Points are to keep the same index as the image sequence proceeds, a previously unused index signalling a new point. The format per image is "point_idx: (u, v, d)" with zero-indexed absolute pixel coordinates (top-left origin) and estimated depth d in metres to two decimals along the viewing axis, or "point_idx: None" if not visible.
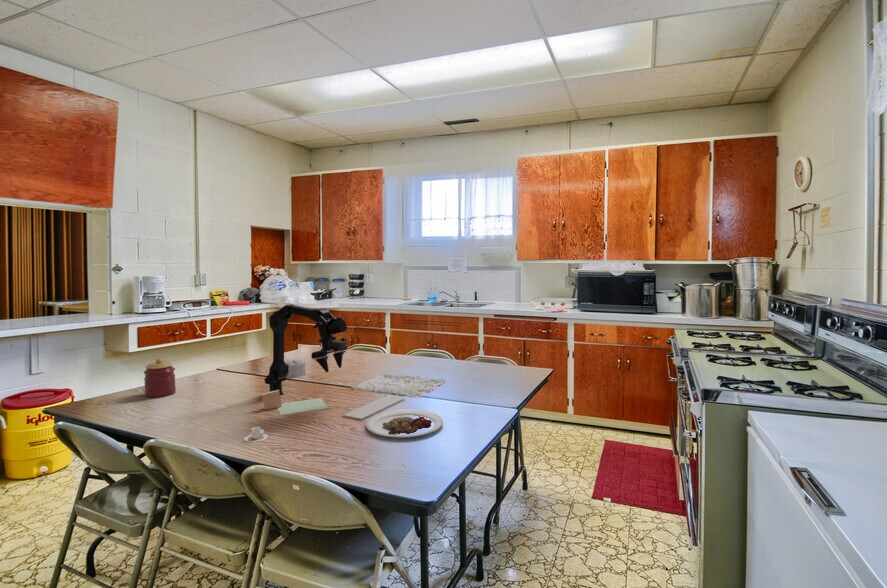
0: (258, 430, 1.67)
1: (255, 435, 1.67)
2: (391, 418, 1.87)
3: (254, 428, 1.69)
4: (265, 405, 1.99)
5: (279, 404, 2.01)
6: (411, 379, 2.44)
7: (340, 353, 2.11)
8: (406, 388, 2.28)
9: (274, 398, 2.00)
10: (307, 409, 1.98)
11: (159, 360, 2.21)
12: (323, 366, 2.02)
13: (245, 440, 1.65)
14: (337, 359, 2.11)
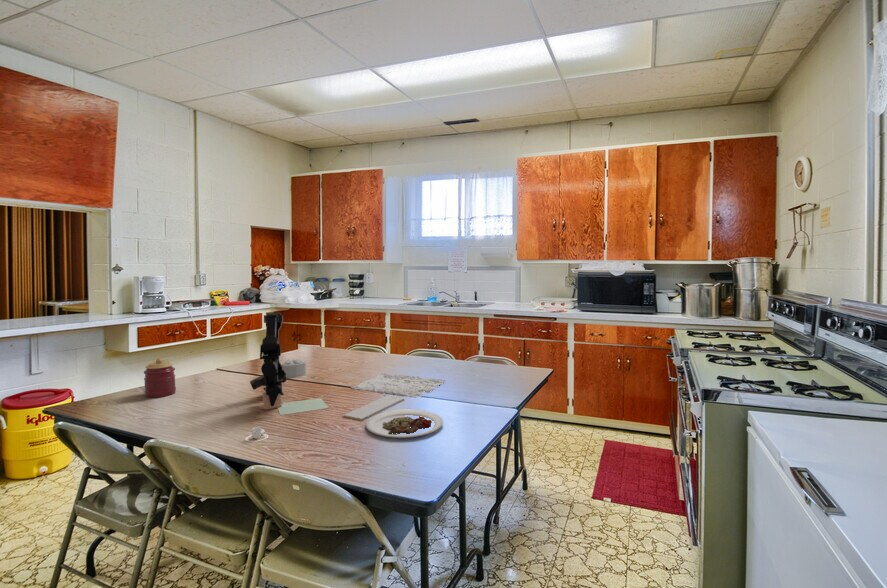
0: (259, 430, 1.67)
1: (256, 435, 1.67)
2: (391, 418, 1.87)
3: (255, 428, 1.69)
4: (265, 405, 1.99)
5: (279, 404, 2.01)
6: (411, 379, 2.44)
7: None
8: (406, 388, 2.28)
9: None
10: (307, 409, 1.98)
11: (159, 360, 2.21)
12: None
13: (246, 440, 1.65)
14: None
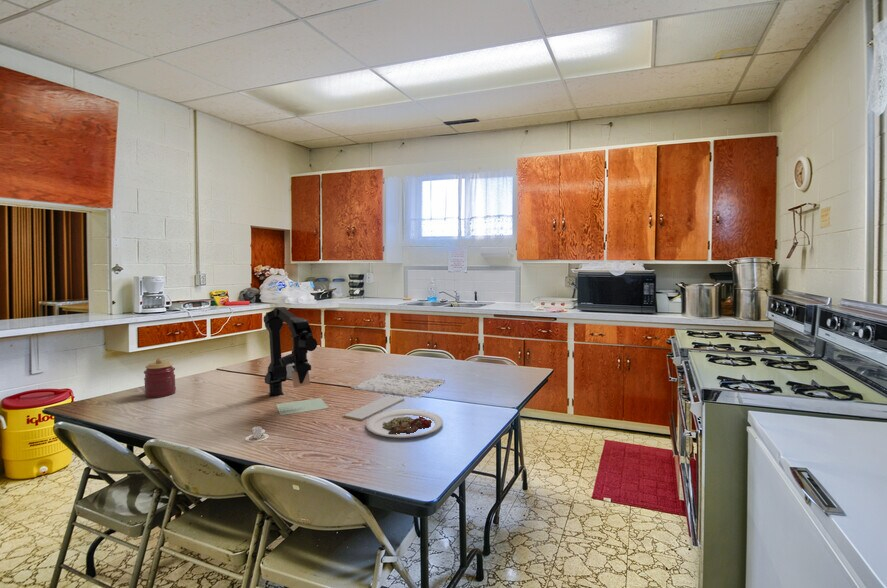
0: (259, 430, 1.67)
1: (256, 435, 1.67)
2: (391, 418, 1.87)
3: (255, 428, 1.69)
4: (294, 382, 2.01)
5: (308, 382, 2.03)
6: (411, 379, 2.44)
7: None
8: (406, 388, 2.28)
9: None
10: (307, 409, 1.98)
11: (159, 360, 2.21)
12: None
13: (246, 440, 1.65)
14: None
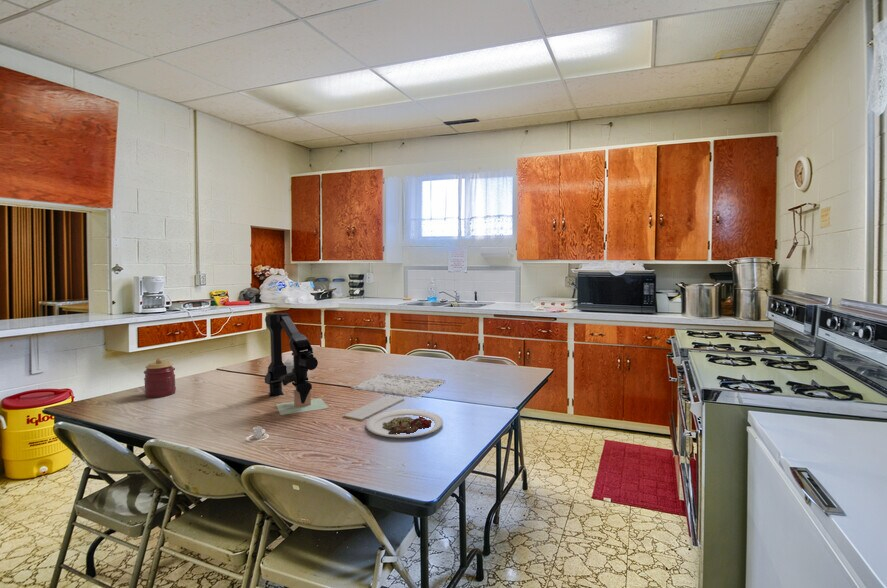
0: (260, 430, 1.67)
1: (257, 435, 1.67)
2: (391, 418, 1.87)
3: (256, 428, 1.69)
4: (295, 402, 2.01)
5: (308, 402, 2.04)
6: (411, 379, 2.44)
7: None
8: (406, 388, 2.28)
9: None
10: (307, 409, 1.98)
11: (159, 360, 2.21)
12: None
13: (247, 440, 1.65)
14: None
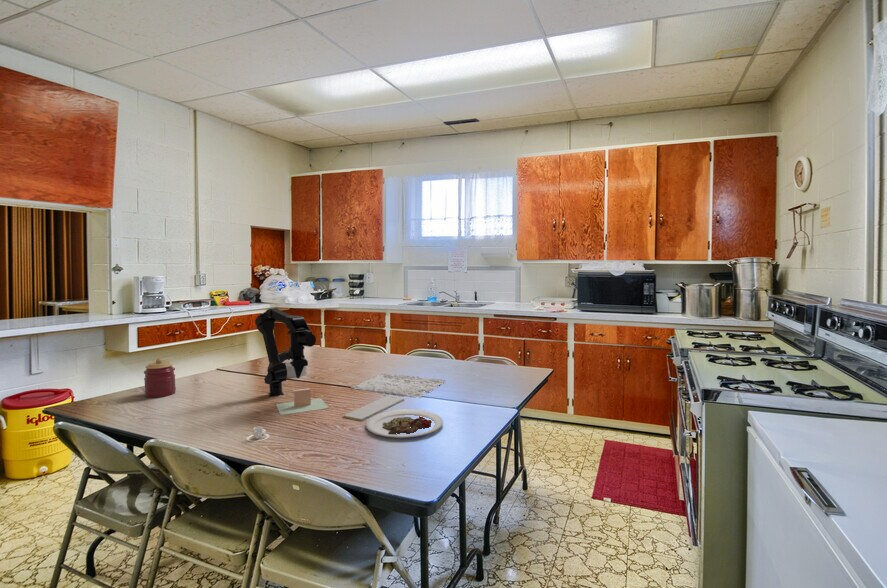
0: (260, 430, 1.67)
1: (257, 435, 1.67)
2: (391, 418, 1.87)
3: (256, 428, 1.69)
4: (295, 402, 2.01)
5: (308, 402, 2.04)
6: (411, 379, 2.44)
7: None
8: (406, 388, 2.28)
9: (304, 396, 2.03)
10: (307, 409, 1.98)
11: (159, 360, 2.21)
12: None
13: (247, 440, 1.66)
14: None
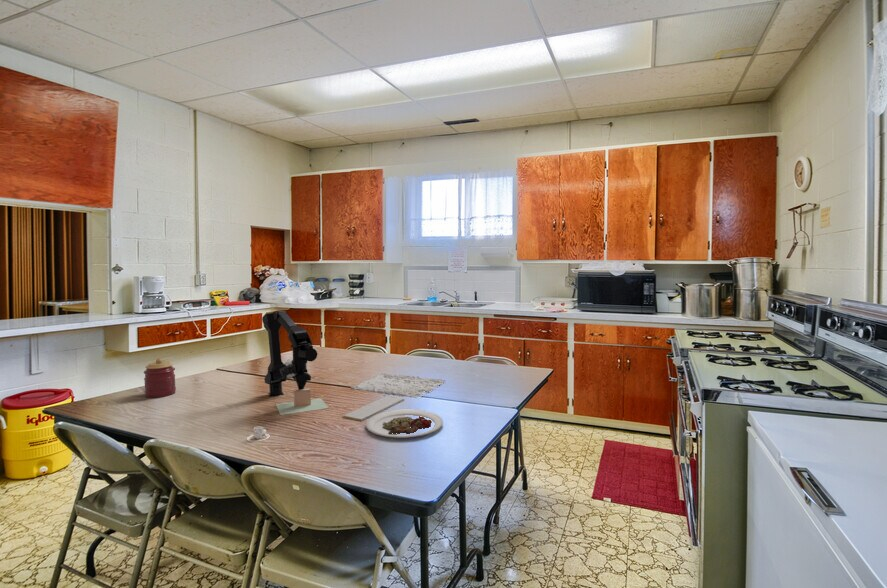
0: (260, 430, 1.67)
1: (257, 435, 1.67)
2: (391, 418, 1.87)
3: (256, 428, 1.69)
4: (295, 402, 2.01)
5: (308, 402, 2.04)
6: (411, 379, 2.44)
7: None
8: (406, 388, 2.28)
9: (305, 396, 2.03)
10: (307, 409, 1.98)
11: (159, 360, 2.21)
12: None
13: (247, 440, 1.66)
14: None
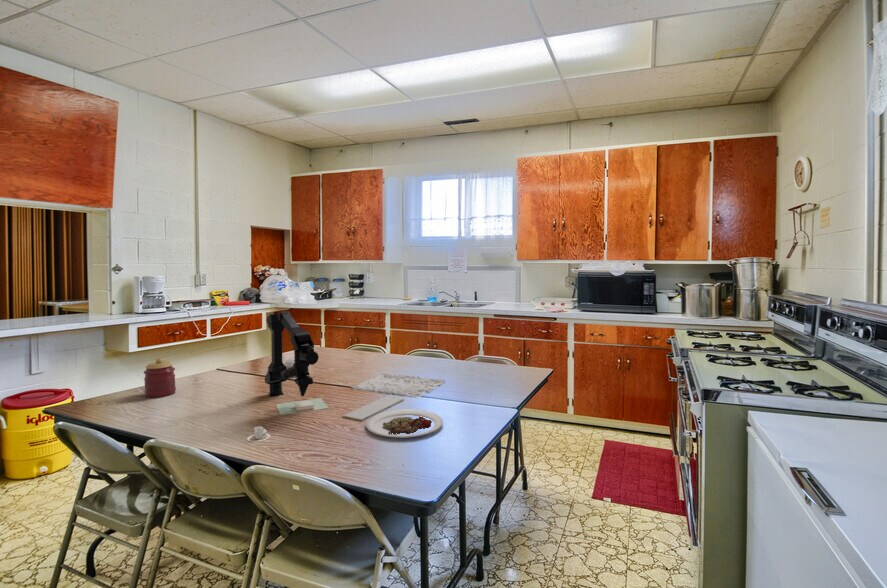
0: (261, 430, 1.67)
1: (258, 435, 1.67)
2: (391, 418, 1.87)
3: (257, 428, 1.69)
4: None
5: None
6: (411, 379, 2.44)
7: None
8: (406, 388, 2.28)
9: None
10: None
11: (159, 360, 2.21)
12: None
13: (248, 440, 1.66)
14: None
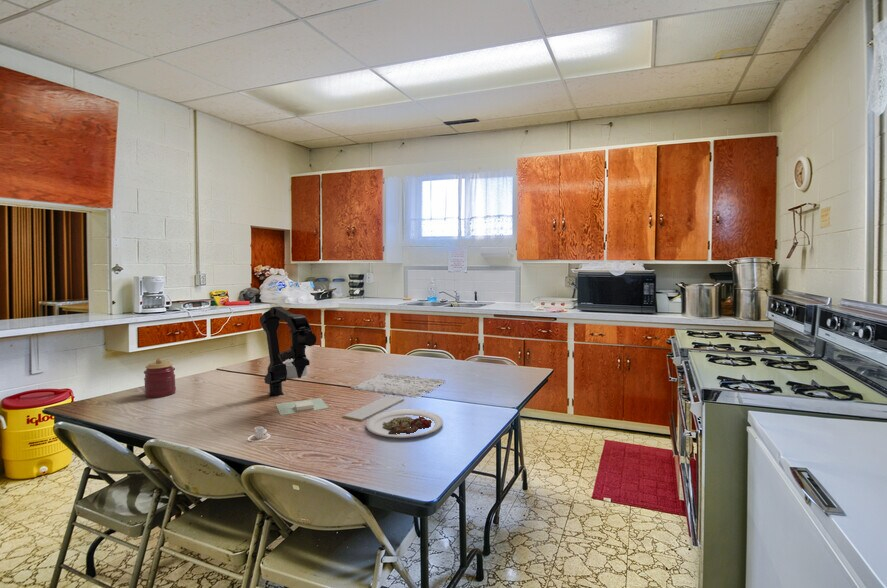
0: (261, 430, 1.67)
1: (258, 435, 1.67)
2: (391, 418, 1.87)
3: (257, 428, 1.69)
4: None
5: None
6: (411, 379, 2.44)
7: None
8: (406, 388, 2.28)
9: None
10: None
11: (159, 360, 2.21)
12: None
13: (248, 440, 1.66)
14: None
